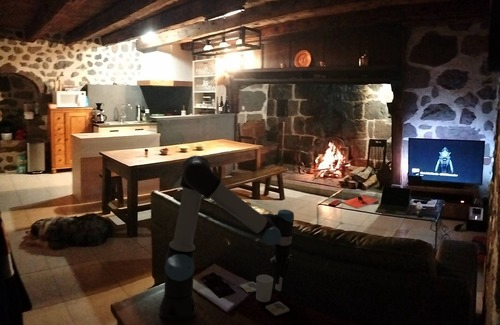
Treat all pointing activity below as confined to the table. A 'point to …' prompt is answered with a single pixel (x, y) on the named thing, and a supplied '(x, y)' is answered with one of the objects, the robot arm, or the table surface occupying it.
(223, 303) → the table surface
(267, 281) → the white cup
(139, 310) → the table surface
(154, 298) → the table surface
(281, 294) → the table surface
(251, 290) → the placard
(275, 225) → the robot arm
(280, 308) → the placard
